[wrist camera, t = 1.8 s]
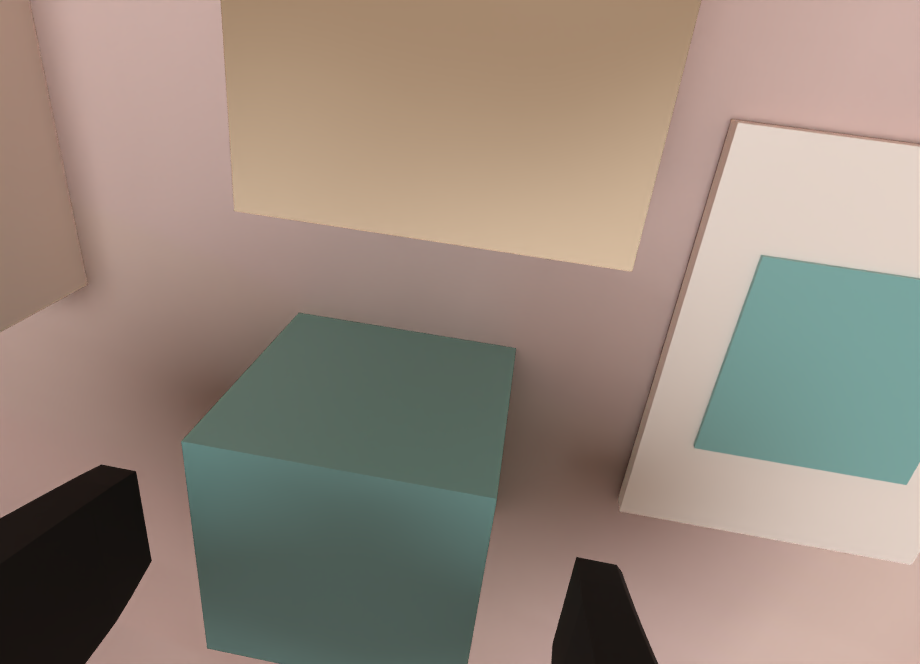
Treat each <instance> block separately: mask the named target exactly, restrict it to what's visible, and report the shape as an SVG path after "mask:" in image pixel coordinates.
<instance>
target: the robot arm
mask: <svg viewBox="0 0 920 664" xmlns="http://www.w3.org/2000/svg"><path fill="white" fill-rule="evenodd" d="M151 561H152V560H151V555H150V549H149V543H148V537H147V532H146V526H145V520H144V514H143V509H142V503H141V497H140V491H139V486H138V480H137V474H136V471H131V470H126V469H121V468H116V467H111V466H106V465H100V466H98V467H96V468H94V469H92V470H90V471H88V472H86V473H84V474H82V475H80V476H78V477H76V478H74V479H72V480H70V481H68V482H66V483H65V484H63V485H61V486H59V487H57V488H55V489H53V490H52V491H50V492H48V493H46V494H44V495H42V496H41V497H39V498H37V499H35V500H33V501H31V502H30V503H28V504H26V505H24V506H22V507H20V508H19V509H17V510H15V511H13V512H11V513H9V514H8V515H6V516H4V517H2V518H0V664H85V663H86V662H87V661H88V659H89V658H90V656H91V655H92V654H93V652H94V651H95V650H96V648H97V647H98V646H99V644H100V643H101V642H102V640H103V639H104V638H105V636H106V635H107V633H108V632H109V631H110V629H111V628H112V627H113V625H114V624H115V622H116V621H117V619H118V618H119V616H120V614H121V613H122V611H123V610H124V608H125V606H126V605H127V603H128V601H129V600H130V598H131V596H132V595H133V593H134V591H135V589H136V588H137V586H138V584H139V582H140V581H141V579H142V577H143V575H144V573H145V572H146V570H147V568H148V566H149V565H150V563H151ZM551 664H658V662H657V660H656V658H655V656H654V653H653V651H652V648H651V646H650V644H649V641H648V639H647V637H646V634H645V632H644V629H643V627H642V625H641V622H640V620H639V617H638V615H637V612H636V609H635V607H634V604H633V602H632V599H631V596H630V594H629V591H628V588H627V585H626V583H625V580H624V577H623V574H622V572H621V570H620V569H619V568H618V566H617V565H614V564H609V563H604V562H599V561H594V560H588V559H583V558H578V557H576V561H575V565H574V568H573V572H572V575H571V579H570V583H569V586H568V590H567V594H566V597H565V601H564V604H563V608H562V612H561V615H560V619H559V623H558V626H557V630H556V633H555V637H554V641H553V646H552V662H551Z"/></svg>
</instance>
